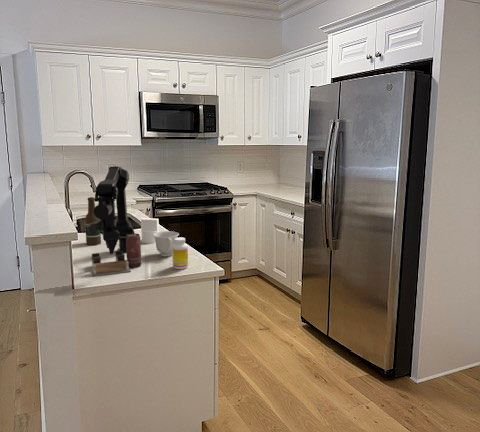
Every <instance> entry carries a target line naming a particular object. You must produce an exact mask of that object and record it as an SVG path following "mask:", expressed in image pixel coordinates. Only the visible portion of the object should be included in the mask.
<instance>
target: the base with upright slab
mask: <svg viewBox="0 0 480 432" xmlns="http://www.w3.org/2000/svg"><path fill="white" fill-rule="evenodd" d="M159 224H160V223H159V218H153V217H152V218H150V217H147V218H146V217H141V218H140V229H141V232H140V233H141V243H142V244H147V245H148V244H151V245H152V244H156V242H155V237H154V236H153V234H155V233H157V232H160V226H159Z"/></svg>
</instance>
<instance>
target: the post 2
mask: <svg viewBox="0 0 480 432" xmlns="http://www.w3.org/2000/svg"><path fill="white" fill-rule="evenodd" d="M114 251H115V250H114ZM125 257H126V255H125V253H124V252H123V251H118V250H116V251H115V261H123V260H126V259H125Z"/></svg>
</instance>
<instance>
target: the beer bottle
mask: <svg viewBox="0 0 480 432" xmlns="http://www.w3.org/2000/svg"><path fill="white" fill-rule="evenodd" d="M87 204H88V205H87V214H86V216H85V219H84V228H85V229H84V230H85V242H86V243H85V244H86V245H87V246H98V245H101V244H102V237H101V236H102V234H101V233H100V231H99V230H98V231H96V232H94V233H92V234H90V233H89V231H88V228H87V226H86V225H87V224H90V223H92V222H94V221H97V220H100V219H99V218H97V217H96V216H95V215H94V209H95V207H96V202H95V196H94V197H93V196H91V197H90V196H89V197H87Z"/></svg>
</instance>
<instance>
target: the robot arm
mask: <svg viewBox="0 0 480 432" xmlns="http://www.w3.org/2000/svg"><path fill="white" fill-rule="evenodd" d="M129 174H130V173H129V172H128V170H127V169H123V168H122V166H119V165H118V166H115V165H114V166H111V165H110V166H109V167H108V172H107V174H106V176H105V179H103V180H101V181H99V183H97V185H96V187H95V192H94V198H95V200H94V202H95V203H96V202H97V203H98V204H97V205H95V209H94V215H95V216H96V217H97V218H99V219H100V220H97V221H94V222H92V223H90V224H87V225H86V226H87V228H88V231H89V233H90V234H92V233H94V232H96V231H98V230H99V231H100V233H101V236H102V240H103V241H104V242H105V245H106V248H107V249H108V251H109V255H112V254H114V251H115V249H116V247H117V244H118V248H117V251H123V253H127V252H126V236H127V234H133V233H135V230H134V228H133V225H132V221H130V219H129V218H128V208H127V194H126V188H127V187H128V184H129V182H130V175H129ZM115 201H116V204H115ZM115 205H116V206H115ZM115 207H116V208H115ZM116 213H117V216H116Z"/></svg>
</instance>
